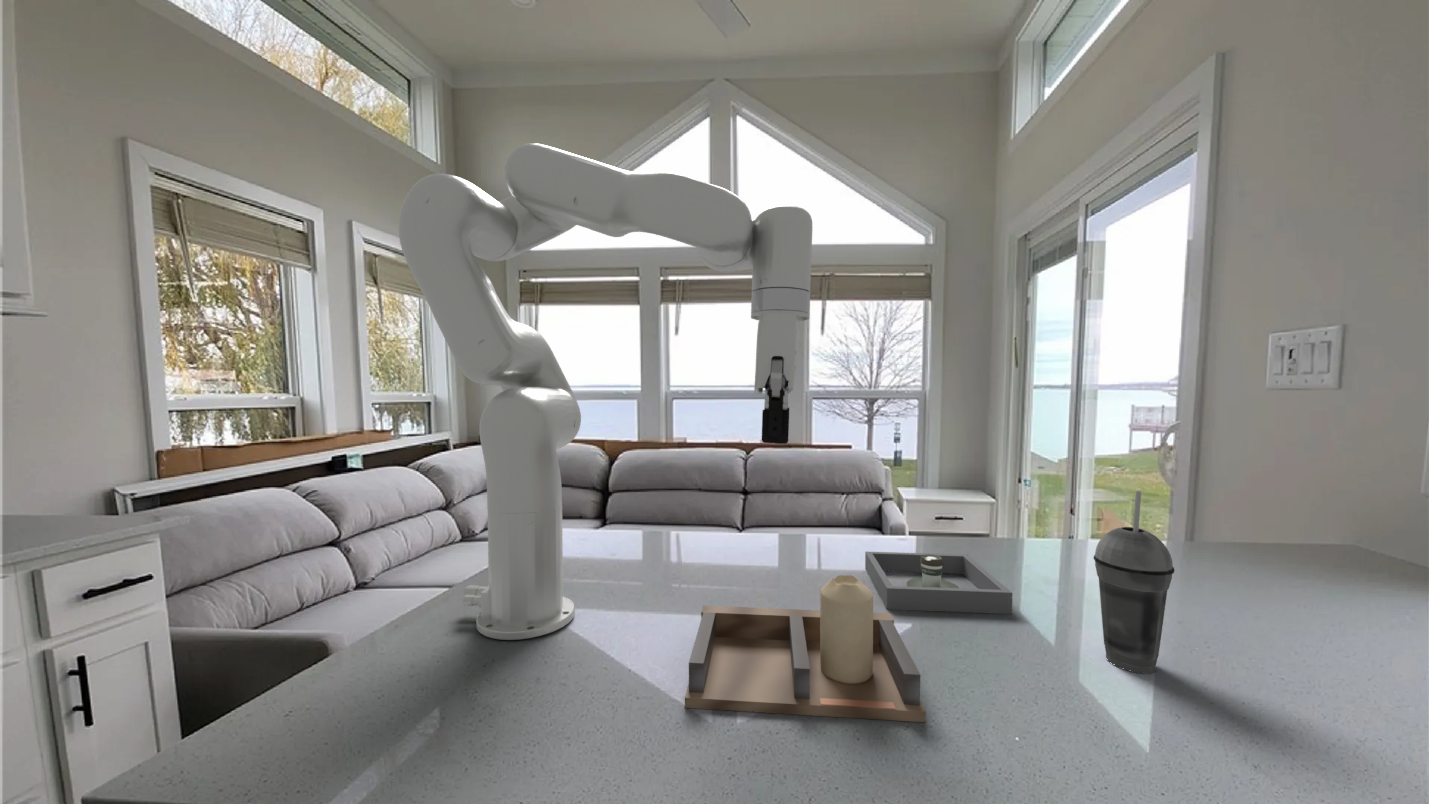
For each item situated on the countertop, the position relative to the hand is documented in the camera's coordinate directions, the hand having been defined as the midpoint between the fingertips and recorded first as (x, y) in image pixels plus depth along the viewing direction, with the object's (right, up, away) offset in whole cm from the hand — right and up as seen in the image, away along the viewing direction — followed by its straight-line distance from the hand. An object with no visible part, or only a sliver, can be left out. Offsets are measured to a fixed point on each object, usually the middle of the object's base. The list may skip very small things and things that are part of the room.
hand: (775, 439), depth 69 cm
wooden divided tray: (+1, -25, -10) cm, 27 cm away
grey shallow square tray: (+26, -25, +14) cm, 38 cm away
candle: (+6, -24, -12) cm, 28 cm away
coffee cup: (+26, -25, +14) cm, 38 cm away
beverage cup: (+40, -25, -8) cm, 48 cm away
